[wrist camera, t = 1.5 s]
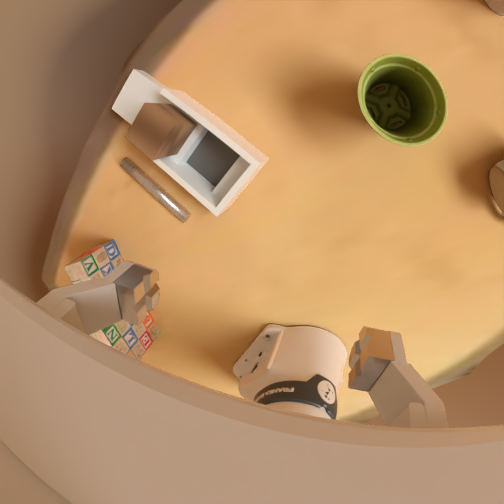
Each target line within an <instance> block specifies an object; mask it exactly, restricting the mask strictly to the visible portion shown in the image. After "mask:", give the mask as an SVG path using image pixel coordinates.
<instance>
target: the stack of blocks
mask: <svg viewBox="0 0 504 504" xmlns="http://www.w3.org/2000/svg"><path fill="white" fill-rule="evenodd" d="M122 262H124V261H123V259H122V257H121V255H120V252H119V250H118V248H117V246H116V244H115V241H114V240H112V241H109V242H106V243H103V244H100V245H97V246H95V247H94V248H92V249H91V250H89V251H88V252H86V253H84V254H83V255H81V256H80V257H78V258H77V259H75V260H74V261H72V262H71V263H69V264H67V265H66V266H65V267H64V268H65V270H66V272H67V274H68V276H69V278H70V280H71V281H72V284H76V283H80V282H84V281H87V280H91V279H95V278H99V277H101V278H104V277H105V276H106V275H107V274H109V273H110V272H111V271H112V270H114V269H115V268H116V267H117V266H119V265H120V264H121V263H122ZM159 334H160V332H159V330H158V328H157V326H156V324H155V323H154V320H153V318H152V317H151V315H150V313H149V311H148V312H147V317H146V318H145V319H144V321H143V322H142V323H141V324H140V325H139V326H137V325H134V324H132V323H129V322H127V321H124V320H122V319H121V321H119V322H117V323H115V324H113V325H111V326H108V327H106V328H104V329H102V330H100V331H97V332H95V333H93V334H91V335H89V336H91V337H93V338H95V339H97V340H99V341H101V342H103V343H105V344H106V345H108V346H110V347H112V348H114V349H116V350H118V351H121V352H123V353H125V354H127V355H129V356H131V357H133V358H135V359H138V360H140V359H141V358H142V356H143V355H144V354H145V352H146V350H147V349H148V348H149V347H150V345H151V344H152V342H153V341H154V340H155V339H156V338H157V336H158V335H159Z"/></svg>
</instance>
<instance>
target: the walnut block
mask: <svg viewBox="0 0 504 504" xmlns="http://www.w3.org/2000/svg"><path fill="white" fill-rule="evenodd" d="M196 126H197V123H195V122H194V121H193V120H191V119H190V118H189V117H187V116H186V115H185V114H184V113H182V112H181V111H180V110H178V109H177V108H176V107H174V106H173V105H172V104H164V103H144V104H143V106H142V107H141V109H140V111H139V113H138V114H137V116H136V118H135V120H134V122H133V123H132V125H131V127H130V129H129V131H128V133H127V135H126V136H125V138H126V139H127V140H129V141H130V142H131V143H132V144H133V145H134V146H136V147H137V148H138V149H139V150H140V151H141V152H142V153H144V154H145V155H146V156H147V157H148V158H149V159H151V160H156V159H160V158H164V157H168V156H172V155H177V154H178V152H179V151H180V149H181V148H182V146H183V145H184V143H185V142H186V140H187V139H188V137H189V136H190V134H191V133H192V131H193V130H194V129H195V127H196Z"/></svg>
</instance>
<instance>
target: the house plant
mask: <svg viewBox="0 0 504 504" xmlns="http://www.w3.org/2000/svg"><path fill="white" fill-rule="evenodd" d="M484 1H485V2H486V4H487V5H488V6H489V7H490V9H492V10H493V11H494V12H495V13H497V14H499V15H502V16H504V0H484Z"/></svg>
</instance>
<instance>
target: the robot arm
mask: <svg viewBox="0 0 504 504" xmlns="http://www.w3.org/2000/svg"><path fill="white" fill-rule="evenodd" d="M158 280H159V273H158V272H157V270H154V269H151V268H148V267H146V266H143V265H140V264H136V263H134V262H131V261H128V260H127V261H124V262H122V263H121V264H120V265H119V266H117V267H116V268H115V269H114V270H112V271H111V272H110V273H109V274H107V275H106V276H105V277H104V278H101V277H99V278H95V279H91V280H87V281H84V282H80V283H76V284H72V285H68V286H64V287H60V288H56V289H53V290H52V291H50V292H49V293H48V294H47V295H46V296H44V297H43V298H42V299H41V300H39V301H38V302H37V303H34V302H33V301H32V300H30V299H29V298H27V297H26V296H25V295H23V294H22V293H20V292H19V291H17V290H16V289H15V288H13V287H12V286H11V285H9V284H8V283H7V282H5V281H4V280H3V279H1V278H0V504H504V424H503V425H495V426H484V427H470V428H448V423H447V417H446V411H445V406H444V403H443V402H442V401H441V400H440V398H439V397H438V396H437V395H436V393H435V392H434V391H433V390H432V389H431V388H430V386H429V385H428V384H427V383H426V382H425V380H424V379H423V378H422V377H421V376H420V375H419V373H418V372H417V371H416V370H415V369H414V368H413V367H412V365H411V364H408V363H407V361H406V356H405V351H404V346H403V341H402V337H401V334H400V333H398V332H392V331H384V330H379V329H375V328H370V327H365V326H364V327H363V328H362V329H361V331H360V333H359V340H358V341H356V342H355V343H354V345H353V347H352V350H351V353H350V357H349V366H350V368H351V369H352V370H351V371H350V373H349V383H348V388H351V389H356V390H361V391H367V392H369V395H370V397H371V399H372V400H373V402H374V404H375V406H376V408H377V410H378V412H379V413H380V415H381V417H382V419H383V421H384V423H385V425H386V426H380V425H371V424H362V423H354V422H347V421H340V420H336V414H337V397H338V393H339V388H340V385H341V384H342V382H343V370H344V367H345V364H346V361H347V351H346V348H345V346H344V344H343V343H342V341H341V340H340V339H339V338H338V337H336V336H335V335H334V334H332V333H330V332H328V331H326V330H324V329H320V328H317V327H311V326H296V327H284V326H280V325H275V324H269V325H267V326H266V327H265V328H264V329H263V330H262V332H261V333H260V334H259V335H258V336H257V338H256V339H255V340H254V341H253V342H252V344H251V345H250V346H249V347H248V348H247V350H246V351H245V352H244V353H243V354H242V356H241V357H240V358H239V359H238V360H237V361H236V363H235V364H234V365H233V368H232V370H233V373H234V374H235V376H236V377H237V378H238V379H239V381H240V383H239V392H240V394H241V395H242V397H243V398H244V399H242V398H239V397H236V396H232V395H229V394H226V393H223V392H220V391H217V390H214V389H211V388H208V387H205V386H202V385H199V384H197V383H194V382H191V381H188V380H186V379H183V378H180V377H178V376H175V375H173V374H170V373H168V372H165V371H163V370H161V369H158V368H156V367H153V366H151V365H149V364H147V363H144V362H142V361H140V360H138V359H135V358H133V357H131V356H129V355H127V354H125V353H123V352H121V351H118V350H116V349H114V348H112V347H110V346H108V345H106V344H105V343H103V342H101V341H99V340H97V339H95V338H93V337H91V336H89V335H91V334H93V333H95V332H97V331H100V330H102V329H104V328H106V327H108V326H111V325H113V324H115V323H117V322H119V321H121V319H122V320H124V321H127V322H129V323H132V324H134V325H137V326H139V325H140V324H141V323H142V322H143V321H144V319H145V318H146V317H147V312H148V311H151V310H153V309H154V308H155V306H156V305H157V303H158V300H159V296H160V288H159V287H158V285H157V284H156V283H157V281H158ZM268 335H270V336H268Z"/></svg>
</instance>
